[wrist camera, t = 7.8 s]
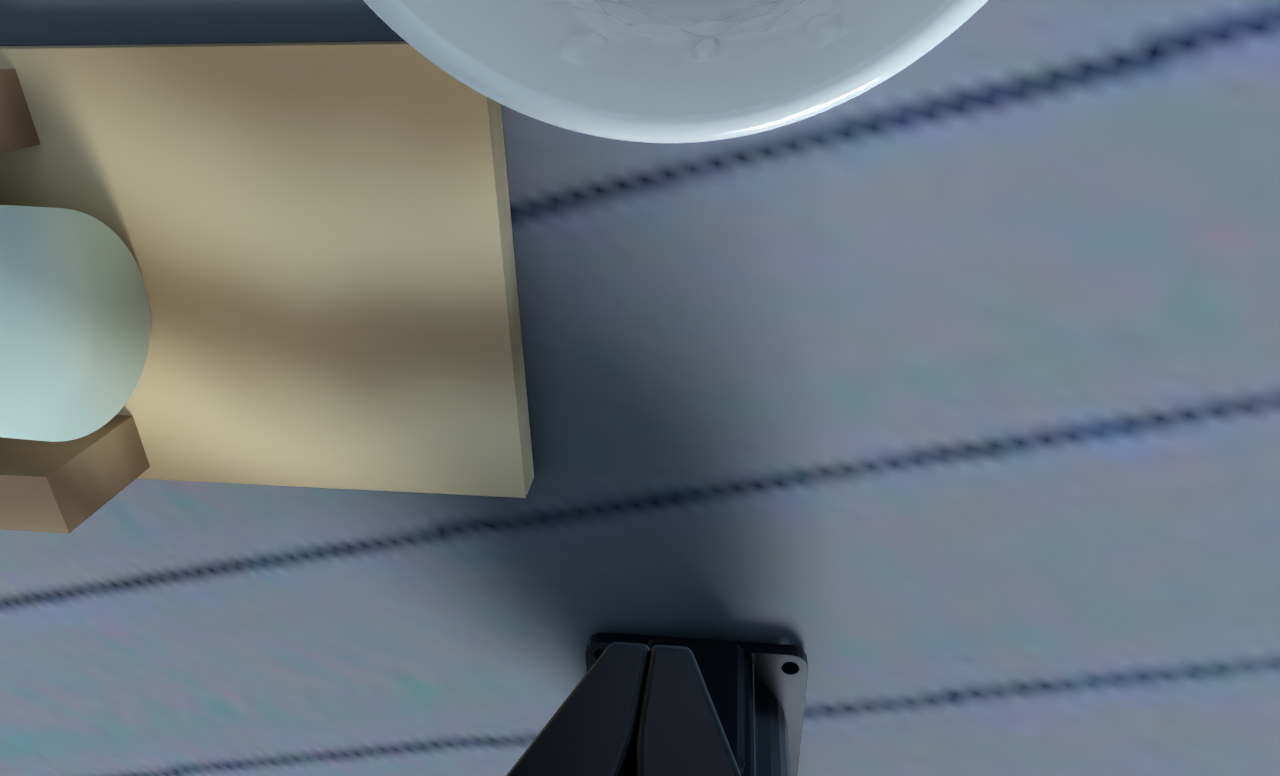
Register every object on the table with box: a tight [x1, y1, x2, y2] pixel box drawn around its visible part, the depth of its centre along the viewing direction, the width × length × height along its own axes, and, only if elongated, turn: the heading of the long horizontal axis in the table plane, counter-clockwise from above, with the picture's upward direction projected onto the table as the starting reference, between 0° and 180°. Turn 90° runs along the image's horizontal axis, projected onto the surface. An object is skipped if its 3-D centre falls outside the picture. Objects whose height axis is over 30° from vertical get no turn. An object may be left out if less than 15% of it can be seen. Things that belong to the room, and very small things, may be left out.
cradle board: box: [0, 41, 534, 533], centre depth 19 cm, size 11×23×4 cm, turn 91°
